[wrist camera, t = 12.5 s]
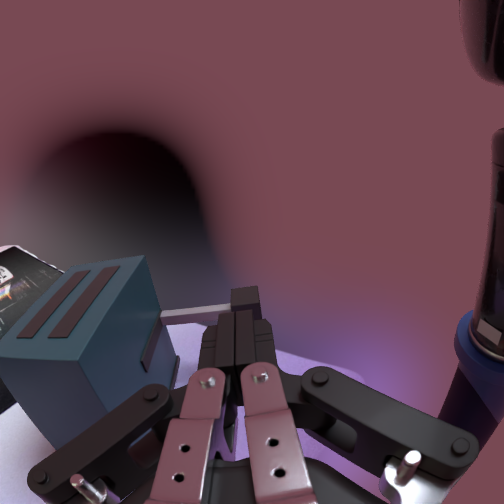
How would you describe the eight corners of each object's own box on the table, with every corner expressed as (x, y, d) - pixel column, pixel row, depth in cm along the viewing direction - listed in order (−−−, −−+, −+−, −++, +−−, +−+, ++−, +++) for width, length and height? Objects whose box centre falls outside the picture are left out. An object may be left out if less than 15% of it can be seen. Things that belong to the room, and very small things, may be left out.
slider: (261, 311, 29) (257, 285, 28) (263, 329, 27) (259, 302, 26) (169, 321, 29) (161, 297, 28) (163, 340, 27) (154, 314, 26)
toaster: (180, 359, 31) (147, 252, 26) (156, 478, 17) (78, 361, 13) (110, 362, 31) (70, 264, 26) (67, 466, 18) (-17, 355, 13)
